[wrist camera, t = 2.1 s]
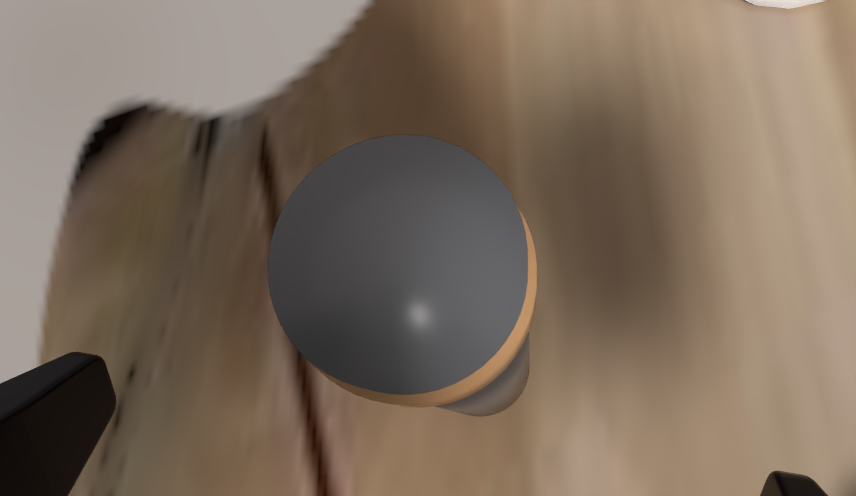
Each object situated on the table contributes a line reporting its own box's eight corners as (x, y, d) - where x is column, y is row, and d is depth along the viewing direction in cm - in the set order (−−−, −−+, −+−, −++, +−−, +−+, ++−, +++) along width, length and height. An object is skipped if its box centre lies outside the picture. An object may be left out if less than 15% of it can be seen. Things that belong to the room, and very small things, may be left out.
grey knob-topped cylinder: (501, 440, 18) (448, 459, 6) (407, 386, 18) (207, 313, 7) (551, 342, 18) (587, 195, 7) (457, 293, 19) (348, 86, 8)
